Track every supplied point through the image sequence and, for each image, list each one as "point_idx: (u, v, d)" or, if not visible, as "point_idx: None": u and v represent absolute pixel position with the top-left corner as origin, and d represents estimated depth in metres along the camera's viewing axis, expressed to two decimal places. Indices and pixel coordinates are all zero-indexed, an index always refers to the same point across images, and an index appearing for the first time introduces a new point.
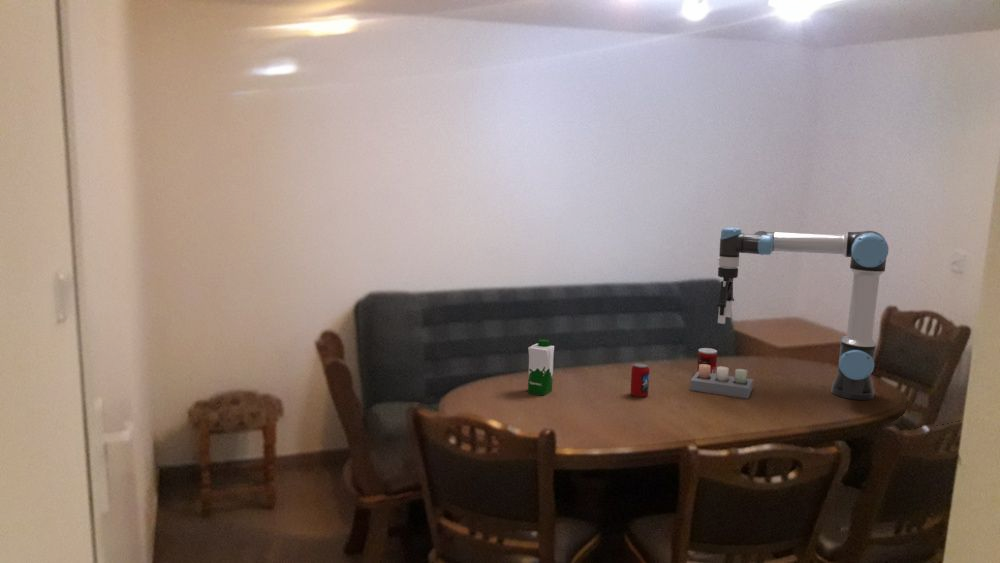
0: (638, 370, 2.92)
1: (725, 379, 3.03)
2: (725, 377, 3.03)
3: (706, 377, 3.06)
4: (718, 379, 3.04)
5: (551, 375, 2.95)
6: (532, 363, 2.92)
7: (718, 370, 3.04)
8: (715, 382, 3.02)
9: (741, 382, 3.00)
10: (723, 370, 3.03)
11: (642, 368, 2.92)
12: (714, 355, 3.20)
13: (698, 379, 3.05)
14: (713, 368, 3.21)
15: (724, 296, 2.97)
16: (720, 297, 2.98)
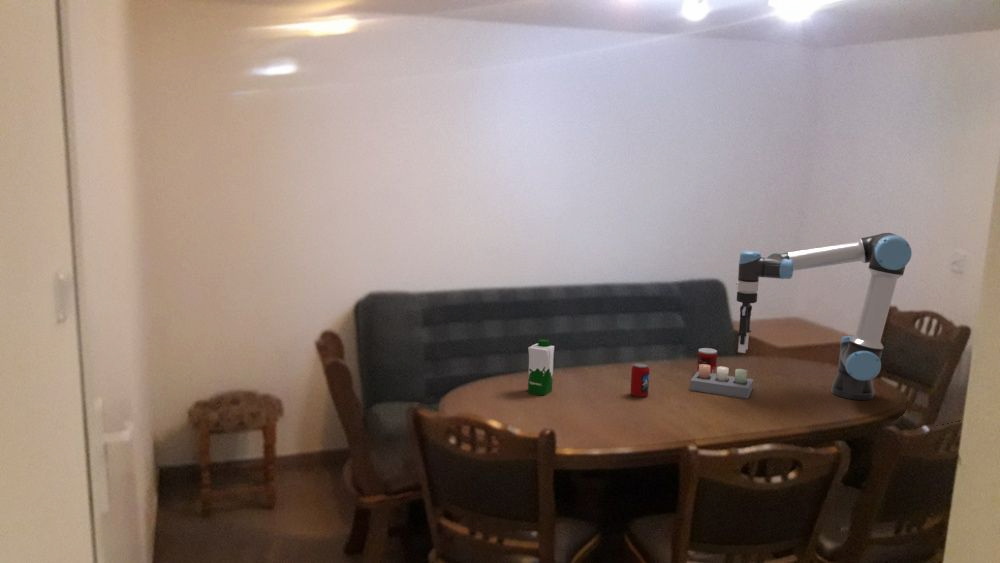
0: (638, 370, 2.92)
1: (725, 379, 3.03)
2: (725, 377, 3.03)
3: (706, 377, 3.06)
4: (718, 379, 3.04)
5: (551, 375, 2.95)
6: (532, 363, 2.92)
7: (718, 370, 3.04)
8: (715, 382, 3.02)
9: (741, 382, 3.00)
10: (723, 370, 3.03)
11: (642, 368, 2.92)
12: (714, 355, 3.20)
13: (698, 379, 3.05)
14: (713, 368, 3.21)
15: (744, 326, 2.93)
16: (740, 327, 2.93)
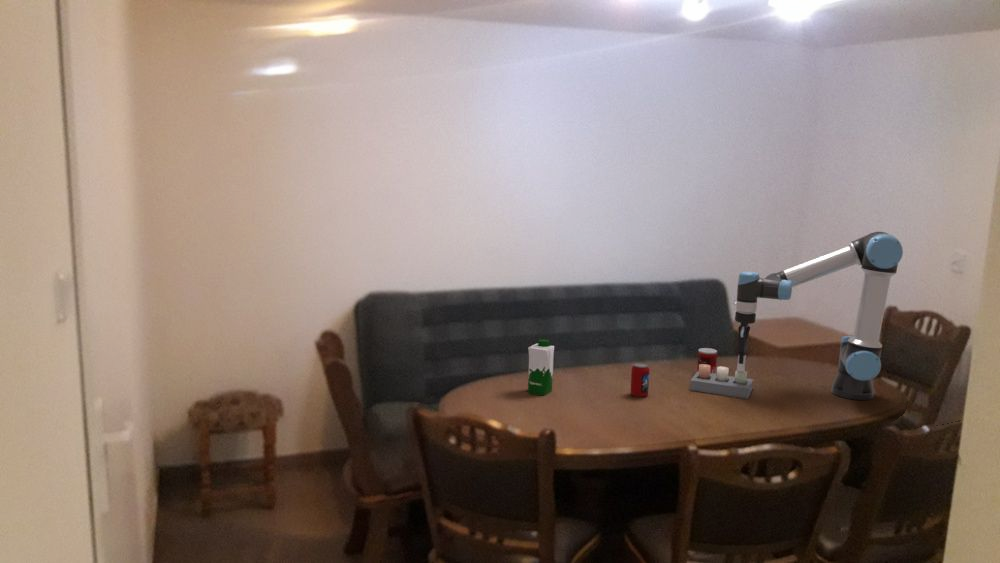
0: (638, 370, 2.92)
1: (725, 379, 3.03)
2: (725, 377, 3.03)
3: (706, 377, 3.06)
4: (718, 379, 3.04)
5: (551, 375, 2.95)
6: (532, 363, 2.92)
7: (718, 370, 3.04)
8: (715, 382, 3.02)
9: (741, 383, 3.00)
10: (723, 370, 3.03)
11: (642, 368, 2.92)
12: (714, 355, 3.20)
13: (698, 379, 3.05)
14: (713, 368, 3.21)
15: (743, 346, 2.96)
16: (739, 347, 2.97)
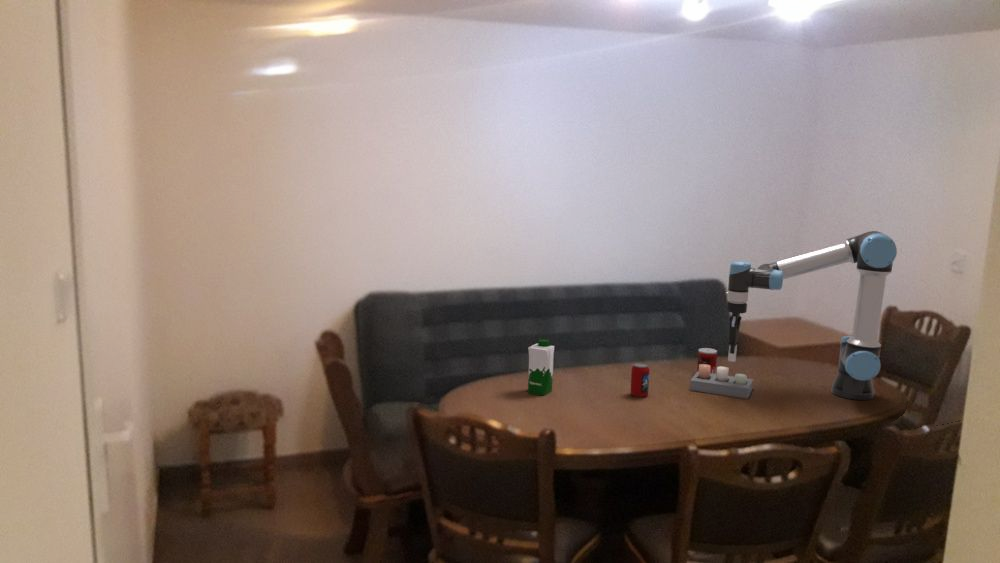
0: (638, 370, 2.92)
1: (725, 379, 3.03)
2: (725, 377, 3.03)
3: (706, 377, 3.06)
4: (718, 379, 3.04)
5: (551, 375, 2.95)
6: (532, 363, 2.92)
7: (718, 370, 3.04)
8: (715, 382, 3.02)
9: None
10: (723, 370, 3.03)
11: (642, 368, 2.92)
12: (714, 355, 3.20)
13: (698, 379, 3.05)
14: (713, 368, 3.21)
15: (734, 336, 2.97)
16: (730, 337, 2.97)
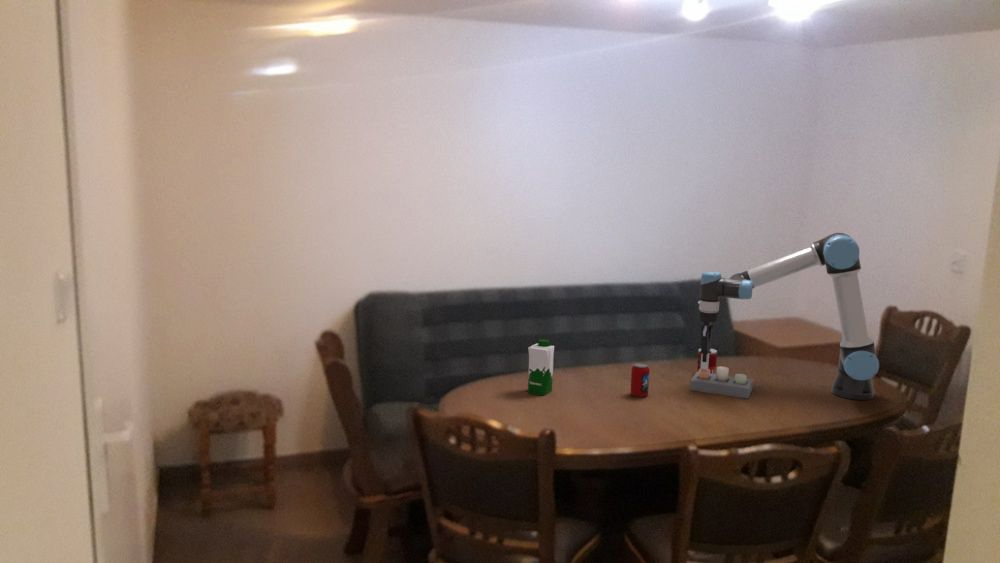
0: (638, 370, 2.92)
1: (725, 379, 3.03)
2: (725, 377, 3.03)
3: None
4: (718, 379, 3.04)
5: (551, 375, 2.95)
6: (532, 363, 2.92)
7: (718, 370, 3.04)
8: (715, 382, 3.02)
9: None
10: (723, 370, 3.03)
11: (642, 368, 2.92)
12: (714, 355, 3.20)
13: (698, 379, 3.05)
14: (713, 368, 3.21)
15: (705, 345, 3.02)
16: (702, 346, 3.03)
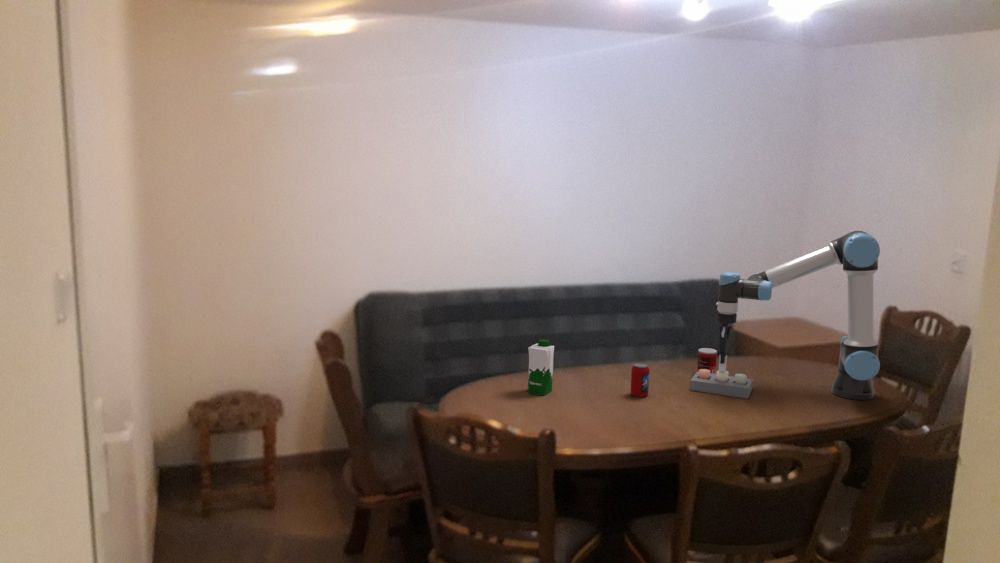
0: (638, 370, 2.92)
1: None
2: (725, 381, 3.03)
3: None
4: None
5: (551, 375, 2.95)
6: (532, 363, 2.92)
7: (718, 374, 3.04)
8: (715, 382, 3.02)
9: None
10: (723, 374, 3.03)
11: (642, 368, 2.92)
12: (714, 355, 3.20)
13: (698, 379, 3.05)
14: (713, 368, 3.21)
15: (724, 346, 2.99)
16: (720, 347, 3.00)
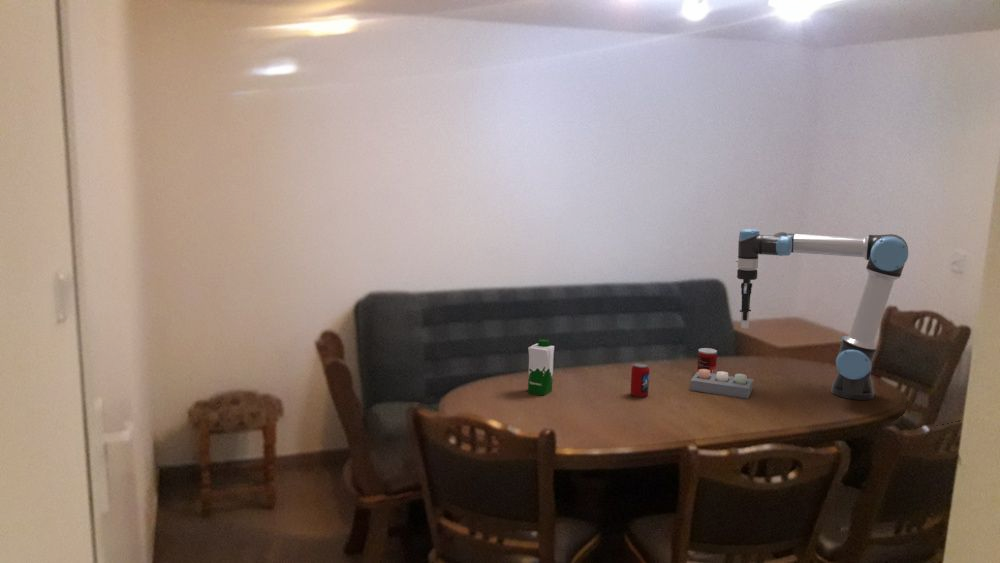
0: (638, 370, 2.92)
1: None
2: None
3: None
4: None
5: (551, 375, 2.95)
6: (532, 363, 2.92)
7: (718, 375, 3.04)
8: (715, 382, 3.02)
9: None
10: (723, 375, 3.03)
11: (642, 368, 2.92)
12: (714, 355, 3.20)
13: (698, 379, 3.05)
14: (713, 368, 3.21)
15: (746, 303, 3.01)
16: (742, 304, 3.01)
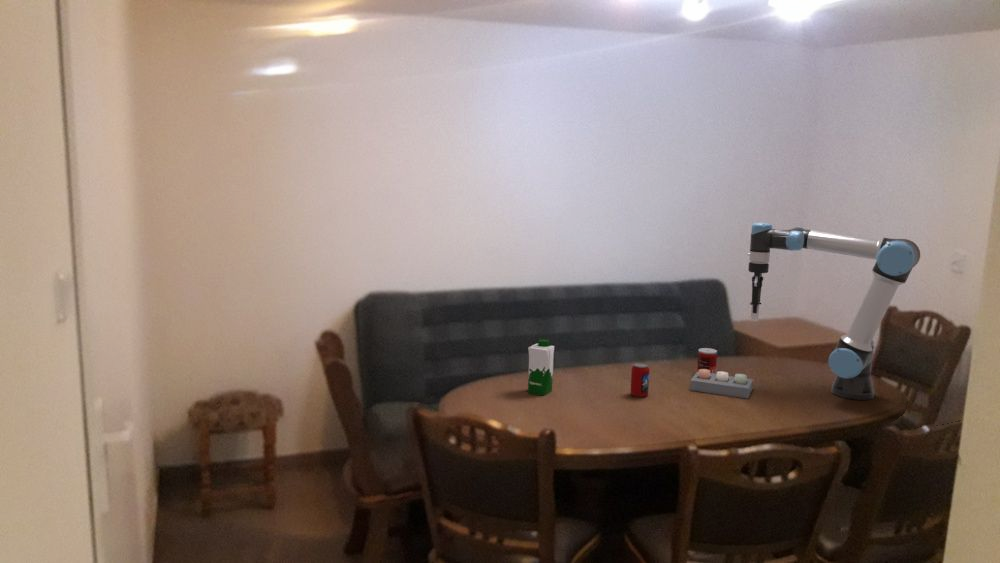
0: (638, 370, 2.92)
1: None
2: None
3: None
4: None
5: (551, 375, 2.95)
6: (532, 363, 2.92)
7: (718, 375, 3.04)
8: (715, 382, 3.02)
9: None
10: (723, 375, 3.03)
11: (642, 368, 2.92)
12: (714, 355, 3.20)
13: (698, 379, 3.05)
14: (713, 368, 3.21)
15: (756, 296, 3.04)
16: (753, 297, 3.04)
